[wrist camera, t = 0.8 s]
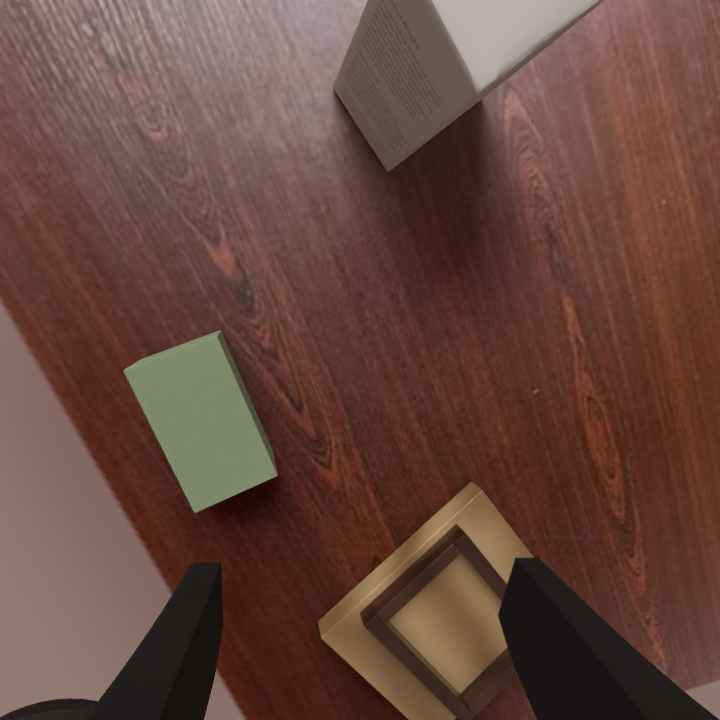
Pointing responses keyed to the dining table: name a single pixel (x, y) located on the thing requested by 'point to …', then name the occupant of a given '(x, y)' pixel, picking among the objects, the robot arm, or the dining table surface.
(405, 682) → the wooden base with frame
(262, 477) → the green rectangular block
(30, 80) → the dining table surface
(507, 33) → the small box
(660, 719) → the robot arm
